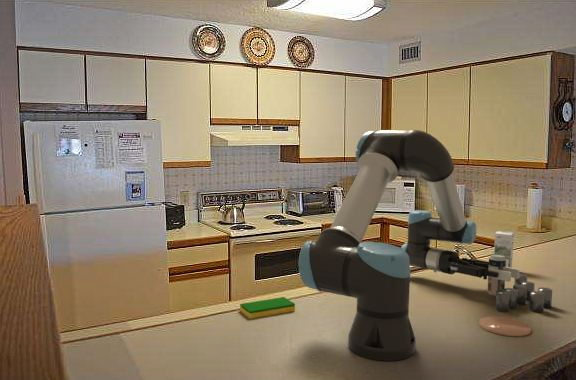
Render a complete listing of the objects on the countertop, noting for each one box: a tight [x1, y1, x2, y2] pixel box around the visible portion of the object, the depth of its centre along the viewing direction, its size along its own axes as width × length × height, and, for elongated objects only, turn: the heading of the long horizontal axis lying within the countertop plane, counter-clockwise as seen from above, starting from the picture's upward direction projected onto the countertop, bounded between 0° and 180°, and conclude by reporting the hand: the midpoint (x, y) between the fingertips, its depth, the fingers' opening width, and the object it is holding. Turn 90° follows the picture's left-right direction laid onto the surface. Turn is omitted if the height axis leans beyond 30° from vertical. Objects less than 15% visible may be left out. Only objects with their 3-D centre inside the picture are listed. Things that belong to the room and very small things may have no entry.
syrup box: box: [493, 230, 515, 268], centre depth 179 cm, size 6×6×14 cm
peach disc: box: [479, 316, 532, 337], centre depth 124 cm, size 12×12×1 cm
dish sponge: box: [239, 296, 296, 319], centre depth 135 cm, size 7×14×2 cm, turn 118°
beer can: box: [486, 253, 506, 297], centre depth 147 cm, size 5×5×12 cm
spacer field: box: [495, 273, 553, 314], centre depth 143 cm, size 15×26×5 cm, turn 131°
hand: (514, 275), depth 143 cm, fingers closed on beer can, 5 cm apart
